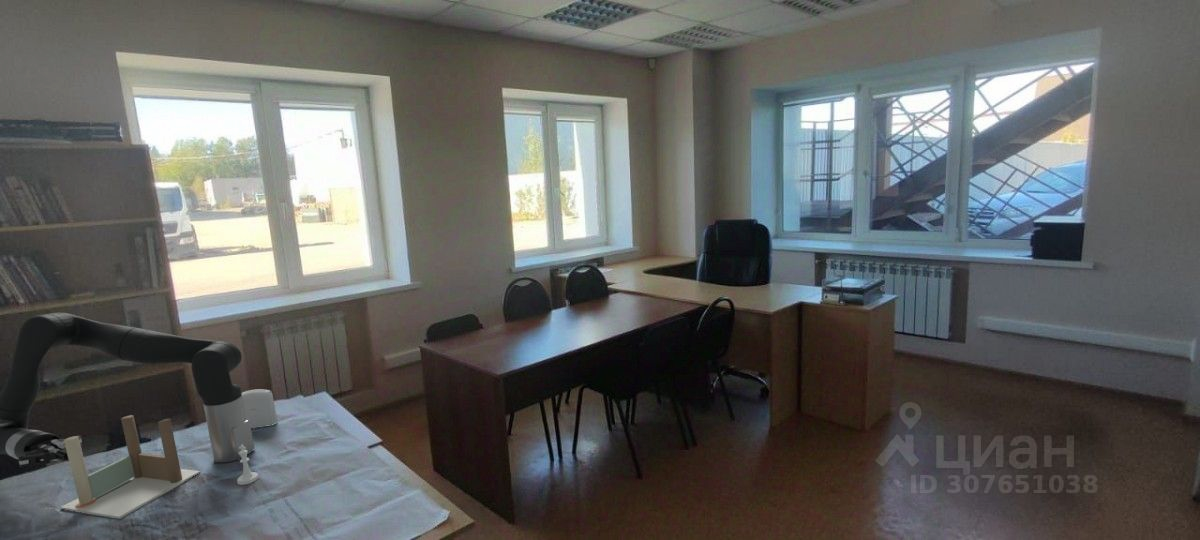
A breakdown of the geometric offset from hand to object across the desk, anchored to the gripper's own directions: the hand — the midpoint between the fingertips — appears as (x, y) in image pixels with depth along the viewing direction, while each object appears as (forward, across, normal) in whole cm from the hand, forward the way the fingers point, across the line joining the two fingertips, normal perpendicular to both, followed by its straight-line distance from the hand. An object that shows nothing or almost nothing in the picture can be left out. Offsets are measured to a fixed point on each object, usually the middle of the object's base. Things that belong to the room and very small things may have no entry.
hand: (71, 455), depth 138 cm
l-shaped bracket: (+1, +5, +12) cm, 13 cm away
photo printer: (+3, +46, +14) cm, 48 cm away
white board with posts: (+5, +8, +13) cm, 17 cm away
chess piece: (+30, +22, +14) cm, 40 cm away
